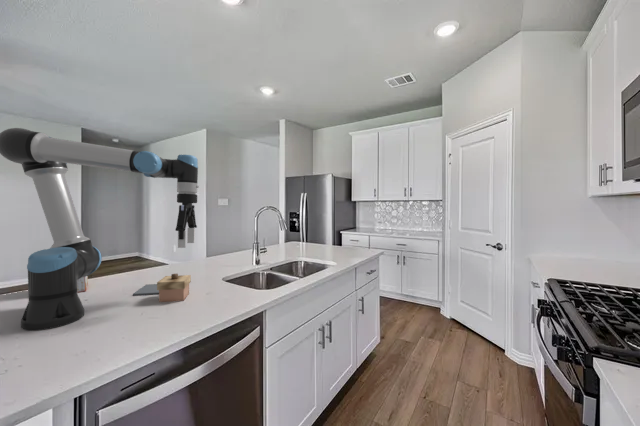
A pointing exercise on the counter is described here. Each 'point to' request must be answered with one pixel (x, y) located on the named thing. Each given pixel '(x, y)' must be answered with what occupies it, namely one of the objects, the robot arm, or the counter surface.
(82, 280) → the cracker box
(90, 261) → the robot arm
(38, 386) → the counter surface
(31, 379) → the counter surface
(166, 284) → the lid
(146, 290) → the plate
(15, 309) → the counter surface
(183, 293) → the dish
